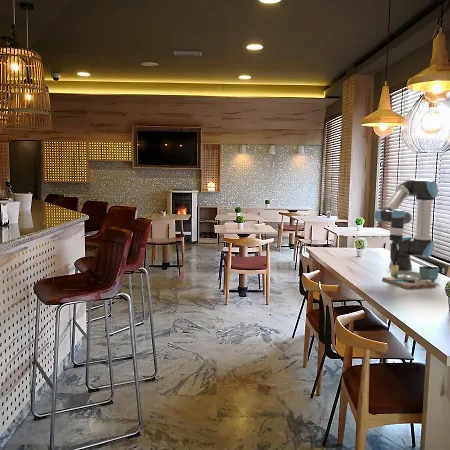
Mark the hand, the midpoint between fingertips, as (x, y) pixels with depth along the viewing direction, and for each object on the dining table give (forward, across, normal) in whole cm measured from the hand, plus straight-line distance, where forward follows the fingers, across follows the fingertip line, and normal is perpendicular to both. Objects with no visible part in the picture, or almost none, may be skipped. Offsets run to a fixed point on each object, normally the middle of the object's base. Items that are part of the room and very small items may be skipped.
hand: (392, 271), depth 299 cm
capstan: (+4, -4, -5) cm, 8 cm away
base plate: (+7, -4, -9) cm, 12 cm away
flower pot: (+7, +7, -25) cm, 27 cm away
